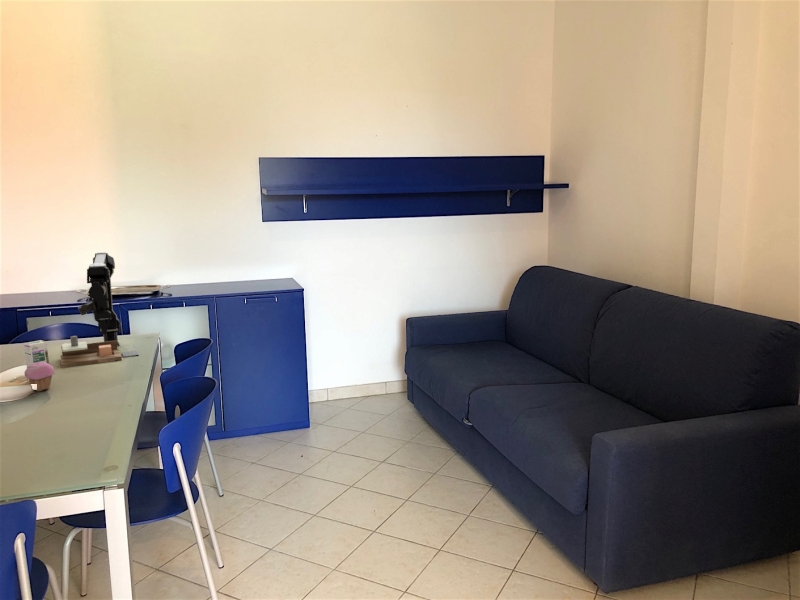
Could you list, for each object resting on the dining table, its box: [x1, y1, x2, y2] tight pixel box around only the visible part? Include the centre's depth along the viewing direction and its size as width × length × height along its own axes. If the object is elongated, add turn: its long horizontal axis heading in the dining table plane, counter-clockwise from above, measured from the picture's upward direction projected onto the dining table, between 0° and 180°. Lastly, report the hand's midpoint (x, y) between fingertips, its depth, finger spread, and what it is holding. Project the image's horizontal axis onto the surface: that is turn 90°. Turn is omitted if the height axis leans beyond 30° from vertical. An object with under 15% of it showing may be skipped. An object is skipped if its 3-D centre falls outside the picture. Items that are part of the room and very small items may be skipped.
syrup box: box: [23, 339, 50, 369], centre depth 221 cm, size 6×6×14 cm
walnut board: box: [60, 340, 123, 369], centre depth 250 cm, size 16×22×5 cm
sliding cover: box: [61, 335, 88, 353], centre depth 248 cm, size 12×9×5 cm
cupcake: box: [24, 362, 55, 392], centre depth 209 cm, size 9×9×10 cm
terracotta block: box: [99, 345, 112, 356], centre depth 252 cm, size 4×4×5 cm
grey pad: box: [121, 350, 140, 358], centre depth 257 cm, size 8×6×1 cm
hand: (103, 332), depth 251 cm, fingers open, 9 cm apart
